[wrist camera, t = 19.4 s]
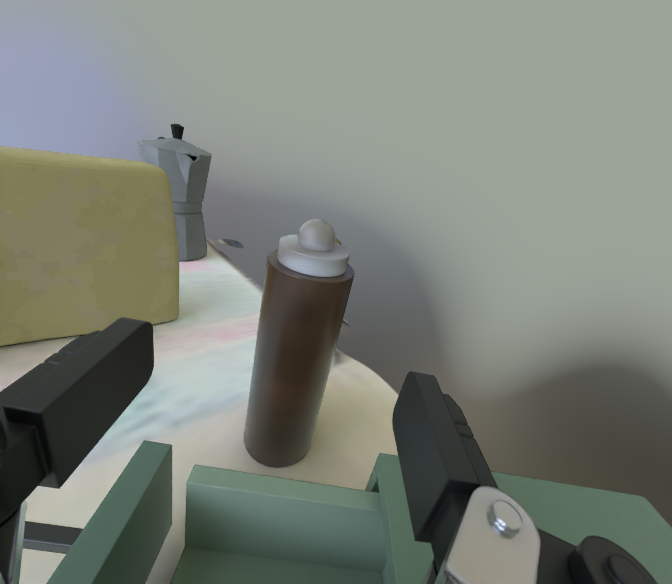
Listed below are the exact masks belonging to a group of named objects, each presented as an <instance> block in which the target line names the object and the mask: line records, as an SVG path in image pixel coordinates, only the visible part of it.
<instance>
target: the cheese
mask: <svg viewBox="0 0 672 584" xmlns="http://www.w3.org/2000/svg"><path fill="white" fill-rule="evenodd" d="M178 314H179V250H178V239H177V231H176V224H175V217H174V210H173V203H172V195H171V187H170V181H169V178H168V176H167V174H166V172H165V171H164V170H163V169H161V168H160V167H158V166H155V165H152V164H149V163H145V162H140V161H133V160H124V159H114V158H102V157H93V156H83V155H75V154H67V153H59V152H51V151H43V150H34V149H25V148H16V147H15V148H14V147H7V146H0V346H4V345H11V344H17V343H23V342H30V341H37V340H44V339H51V338H59V337H67V336H76V335H84V334H89V333H91V332H94V331H96V330H99V331H103V330H104V329H105V328H107V327H108V326H109V325H111V324H112V323H113V322H115V321H116V320H117V319H119V318H121V317H125V318H131V319H136V320H141V321H147V322H150V323H151V324H158V323H164V322H169V321H172V320H174V319H176V318H177V317H178Z"/></svg>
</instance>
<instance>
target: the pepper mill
mask: <svg viewBox="0 0 672 584" xmlns="http://www.w3.org/2000/svg"><path fill="white" fill-rule="evenodd" d="M335 241H336V237H335V232H334V230H333V228H332V227H331V225H330V224H328V223H327V222H326V221H324V220H320V219H313V220H309V221H308V222H306V223H304V224H303V225H302V227H301V228H300V230H299V233H298V235H287V236H283V237H282V238H281V239H280V241H279V248H278V250H275V251H273V252H271V253H270V254H269V255H268V257H267V264H266V272H265V280H264V288H263V295H262V303H261V310H260V318H259V326H258V333H257V341H256V349H255V356H254V364H253V372H252V379H251V387H250V395H249V402H248V410H247V417H246V425H245V433H244V443H245V447H246V449H247V451H248V453H249V454H250V455H251V456H252V457H253V458H254V459H255V460H256V461H258V462H259V463H261V464H264V465H267V466H270V467H285V466H289V465H292V464H294V463H296V462H298V461H299V460H301V459H302V458H303V457H304V456H305V455H306V454H307V452H308V450H309V448H310V445H311V441H312V437H313V433H314V430H315V426H316V422H317V418H318V414H319V410H320V406H321V402H322V398H323V394H324V391H325V387H326V383H327V379H328V375H329V371H330V367H331V363H332V359H333V355H334V352H335V348H336V344H337V340H338V336H339V332H340V328H341V324H342V320H343V316H344V313H345V309H346V305H347V301H348V297H349V293H350V289H351V285H352V281H353V277H354V270H353V269H352V267H351V266H350V265H349V264H348V259H349V255H350V253H349V251H348V250H347V249H346V248H345V247H343V246H342V245H340V244H338V243H335Z"/></svg>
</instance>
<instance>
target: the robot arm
mask: <svg viewBox="0 0 672 584" xmlns="http://www.w3.org/2000/svg"><path fill="white" fill-rule="evenodd" d="M153 367H154V348H153V327H152V324H151V323H150V322H147V321H141V320H136V319H131V318H125V317H121V318H119V319H117V320H116V321H115V322H113V323H112V324H111V325H109V326H108V327H107V328H105V329H104V330H103V331H99V330H96V331H94V332H91V333H89V334H86V335H84V336H81V337H79V338H76V339H75V340H73V341H72V342H70V343H69V344H68V345H66V346H65V347H63V348H62V349H60V350H59V352H58V353H55V354H53V355H52V356H51V357H49V358H48V359H46V360H45V362H44V363H43V364H42V363H41V364H39V365H38V366H36V367H35V368H34V369H32V370H31V371H29V372H28V373H27V374H25V375H24V376H22V377H21V378H19V379H18V380H17V381H15V382H14V383H12V384H11V385H10V386H8V387H7V388H5V389H4V390H3V391H1V392H0V584H19V578H20V568H21V558H22V548H23V538H24V528H25V518H26V508H27V507H26V500H25V499H26V498H27V497H28V496H29V495H30V494H31V493H32V491H33V490H34V489H35V488H36V487H37V486H44V487H51V488H58V489H59V488H60V487H61V486H62V485H63V484H64V482H65V481H66V480H67V479H68V478H69V476H70V475H71V474H72V473H73V472H74V470H75V469H76V468H77V467H78V466H79V464H80V463H81V462H82V461H83V460H84V458H85V457H86V456H87V455H88V454H89V452H90V451H91V450H92V449H93V448H94V446H95V445H96V444H97V443H98V442H99V440H100V439H101V438H102V437H103V436H104V434H105V433H106V432H107V431H108V430H109V428H110V427H111V426H112V425H113V424H114V422H115V421H116V420H117V419H118V418H119V416H120V415H121V414H122V413H123V412H124V410H125V409H126V408H127V407H128V406H129V404H130V403H131V402H132V401H133V400H134V398H135V397H136V396H137V395H138V394H139V392H140V391H141V390H142V389H143V388H144V386H145V385H146V384H147V382H148V381H149V379H150V377H151V374H152V371H153ZM392 423H393V431H394V436H395V441H396V446H397V451H398V457H399V462H400V467H401V472H402V477H403V482H404V487H405V493H406V498H407V503H408V508H409V513H410V518H411V524H412V529H413V534H414V539H415V541H418V542H425V543H431V547H432V551H433V555H434V556H433V558H432V560H431V561H430V563H429V566H428V568H427V571H426V573H425V575H424V578H423V580H422V583H421V584H658V583H657V582H656V581H655V579H654V578H653V577H652V575H651V574H650V573H649V572H648V571H647V570H646V568H645V567H644V566H643V565H642V564H641V563H640V562H639V561H638V560H637V559H635V558H634V557H633V556H632V555H631V554H630V553H628V552H627V551H626V550H625V549H623V548H622V547H620V546H619V545H617V544H616V543H614V542H612V541H610V540H608V539H606V538H603V537H600V536H595V535H591V536H587V537H585V538H584V539H583V540H582V542H581V543H580V544H579V545H578V546H575V545H573V544H570V543H568V542H566V541H564V540H562V539H560V538H558V537H556V536H554V535H551V534H549V533H547V532H545V531H543V530H541V529H539V528H537V527H536V525H535V523H534V521H533V520H532V518H531V516H530V515H529V514H528V512H527V511H526V510H525V509H524V508H523V506H522V505H521V504H520V503H519V502H517V501H516V500H515V499H514V498H513V497H511V496H510V495H508V494H507V493H505V492H503V491H501V490H499V488H498V486H497V484H496V482H495V480H494V478H493V476H492V474H491V471H490V469H489V467H488V465H487V463H486V461H485V459H484V457H483V455H482V452H481V450H480V448H479V446H478V444H477V442H476V440H475V439H473V433H472V431H471V429H470V427H469V426H468V425H467V424H468V423H467V421H466V419H465V416H464V415H463V412H462V410H461V408H460V407H459V406H458V405H457V404H456V403H455V402H454V400H453V399H452V398H451V397H450V396H449V395H447V394H442V392H441V389H440V387H439V384H438V382H437V380H436V378H435V377H434V376H433V375H428V374H422V373H417V372H412V371H411V372H409V373H408V374H407V376H406V378H405V381H404V384H403V386H402V389H401V391H400V394H399V396H398V399H397V402H396V404H395V407H394V411H393V419H392Z"/></svg>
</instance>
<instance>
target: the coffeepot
mask: <svg viewBox="0 0 672 584" xmlns="http://www.w3.org/2000/svg"><path fill="white" fill-rule="evenodd" d="M171 129H172V134H173V138H163V137H159V138H158V139H154V140H143V141H139V142H138V145H139V150H140V155H141V161H142V162H145V163H149V164H152V165H155V166H158V167H160V168H161V169H163V170H164V171H165V172H166V174H167V176H168V178H169V181H170V187H171V195H172V203H173V210H174V217H175V224H176V231H177V239H178V250H179V261H191V260H197V259H200V258H202V257H204V256H206V252H207V245H206V238H205V230H204V222H203V215H202V212H201V208H202V201H203V198H204V192H205V187H206V182H207V177H208V172H209V166H210V161H211V154H210V153H208V152H206V151H204V150H202V149H200V148H198V147H196V146H194V145H192V144H190V143H188V142H186V141H184V140H182V135H183V130H184V127H182V126H181V125H179V124H172V125H171Z"/></svg>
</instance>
